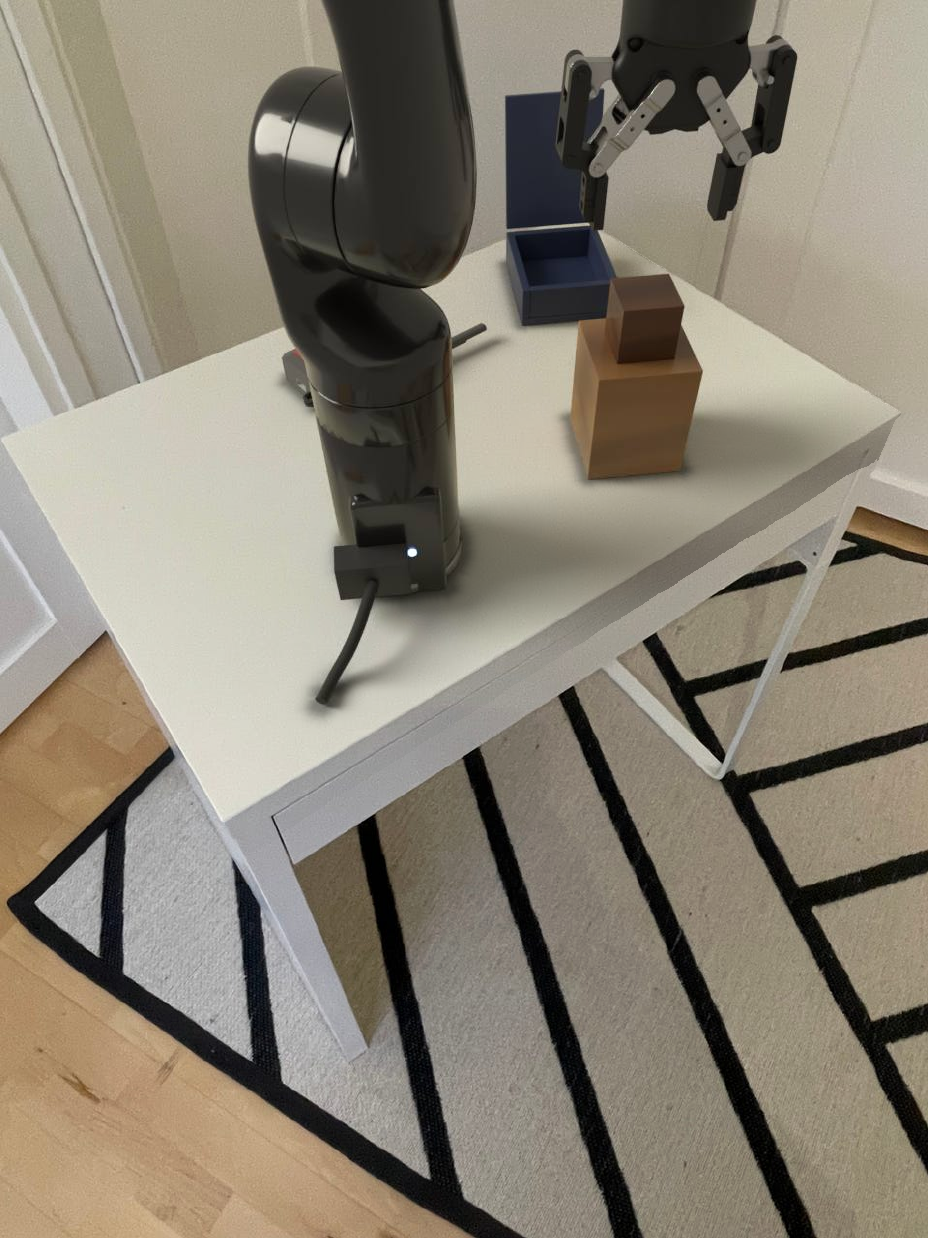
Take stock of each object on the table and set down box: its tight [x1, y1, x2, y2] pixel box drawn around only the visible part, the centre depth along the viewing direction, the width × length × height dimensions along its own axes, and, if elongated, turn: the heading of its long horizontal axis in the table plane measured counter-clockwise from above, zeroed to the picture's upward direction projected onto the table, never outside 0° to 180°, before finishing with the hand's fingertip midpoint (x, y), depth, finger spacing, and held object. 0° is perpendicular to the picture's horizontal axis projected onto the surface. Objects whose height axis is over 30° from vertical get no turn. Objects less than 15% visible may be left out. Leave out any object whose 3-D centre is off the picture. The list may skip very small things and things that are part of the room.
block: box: [605, 273, 685, 364], centre depth 65 cm, size 4×4×4 cm
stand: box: [569, 318, 704, 480], centre depth 71 cm, size 8×8×10 cm
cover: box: [504, 87, 606, 230], centre depth 88 cm, size 12×10×5 cm
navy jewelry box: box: [505, 224, 618, 326], centre depth 89 cm, size 12×10×4 cm
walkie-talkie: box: [281, 322, 488, 408], centre depth 81 cm, size 9×4×20 cm
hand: (655, 220), depth 59 cm, fingers open, 8 cm apart
